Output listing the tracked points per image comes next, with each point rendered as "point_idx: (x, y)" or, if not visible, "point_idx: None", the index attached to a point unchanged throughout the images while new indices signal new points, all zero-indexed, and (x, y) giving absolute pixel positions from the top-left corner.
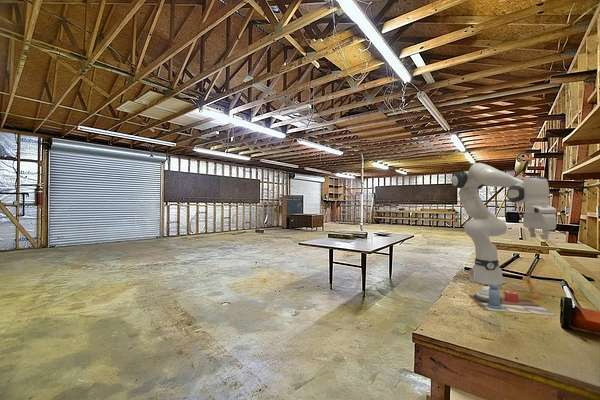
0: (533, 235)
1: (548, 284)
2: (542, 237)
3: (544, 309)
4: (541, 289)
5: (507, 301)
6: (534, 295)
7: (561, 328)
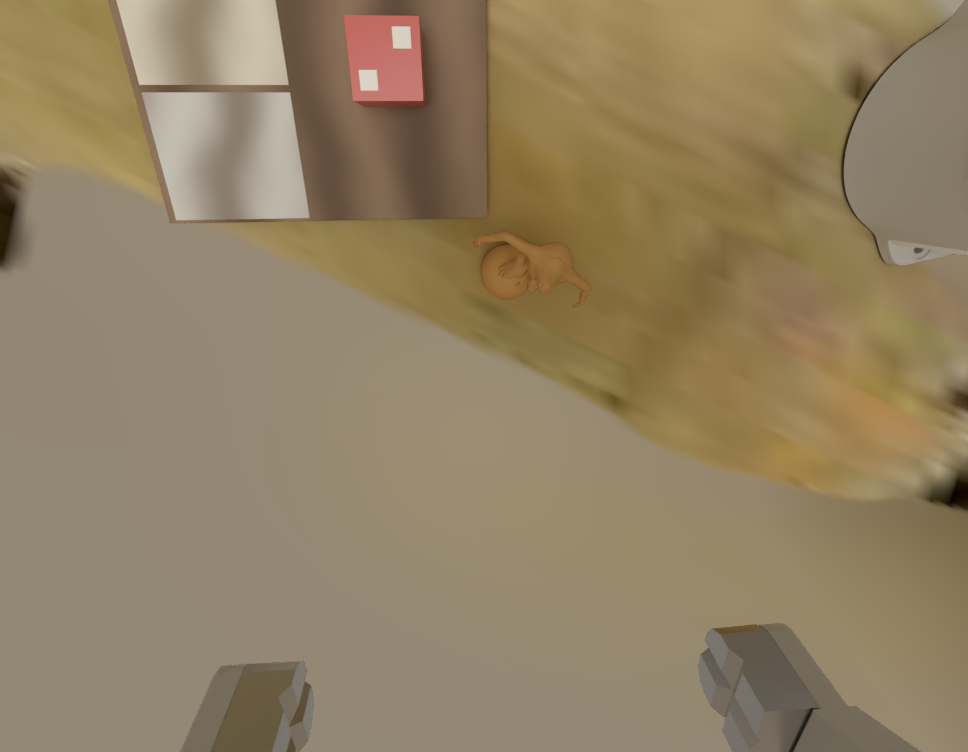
0: (730, 682)
1: (830, 480)
2: (244, 694)
3: (265, 210)
4: (738, 406)
5: None
6: (490, 264)
7: (24, 168)
